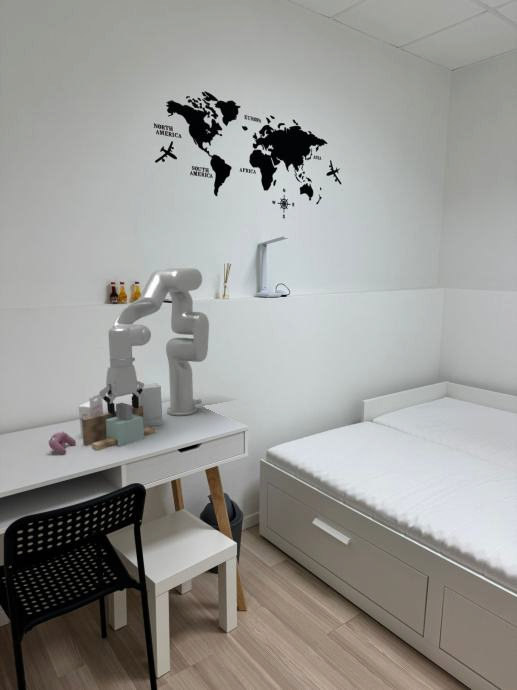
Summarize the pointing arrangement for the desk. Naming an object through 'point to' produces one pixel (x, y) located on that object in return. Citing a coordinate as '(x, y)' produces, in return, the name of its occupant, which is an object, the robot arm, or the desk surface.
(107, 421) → the mint green block
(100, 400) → the ink cartridge box
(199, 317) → the robot arm
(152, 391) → the skincare box
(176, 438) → the desk surface
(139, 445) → the desk surface
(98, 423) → the curved brown board
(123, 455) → the desk surface
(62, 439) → the video game controller
